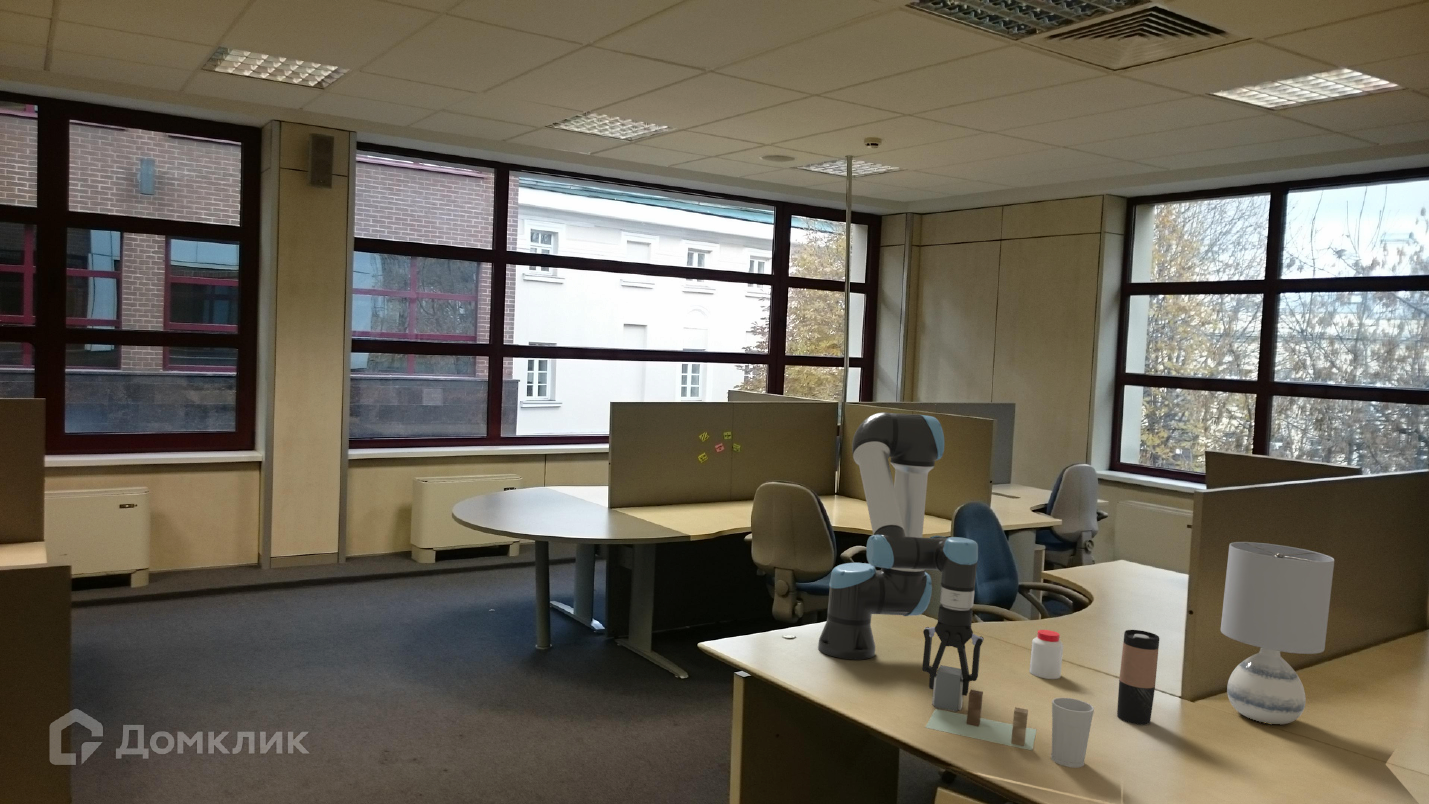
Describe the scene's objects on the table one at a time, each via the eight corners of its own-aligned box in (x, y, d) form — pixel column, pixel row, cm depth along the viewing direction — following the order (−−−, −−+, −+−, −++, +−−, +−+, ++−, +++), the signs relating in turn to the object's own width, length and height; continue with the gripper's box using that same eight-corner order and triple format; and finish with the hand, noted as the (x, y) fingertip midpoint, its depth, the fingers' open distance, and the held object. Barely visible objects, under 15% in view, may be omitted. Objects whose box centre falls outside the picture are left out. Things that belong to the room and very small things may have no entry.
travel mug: (1149, 716, 229) (1158, 632, 228) (1152, 728, 222) (1161, 641, 221) (1114, 710, 232) (1122, 627, 230) (1116, 721, 224) (1125, 635, 223)
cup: (1040, 753, 202) (1045, 696, 201) (1077, 755, 203) (1082, 698, 202) (1056, 770, 194) (1062, 711, 193) (1095, 771, 195) (1101, 712, 194)
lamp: (1325, 721, 235) (1343, 555, 233) (1303, 743, 219) (1322, 565, 217) (1227, 695, 250) (1243, 538, 247) (1200, 714, 234) (1217, 547, 232)
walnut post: (966, 724, 214) (969, 692, 214) (968, 720, 217) (970, 689, 216) (978, 726, 213) (981, 695, 213) (980, 722, 216) (982, 691, 215)
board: (925, 729, 210) (925, 727, 210) (935, 710, 223) (935, 708, 222) (1031, 752, 202) (1032, 750, 202) (1036, 731, 214) (1036, 729, 214)
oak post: (1011, 743, 205) (1014, 711, 205) (1012, 739, 207) (1015, 707, 207) (1023, 746, 204) (1027, 713, 204) (1025, 742, 206) (1028, 709, 206)
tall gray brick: (933, 708, 224) (937, 671, 223) (937, 701, 228) (940, 665, 228) (956, 712, 222) (960, 675, 221) (960, 705, 226) (963, 669, 226)
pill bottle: (1056, 670, 259) (1060, 630, 259) (1063, 680, 252) (1067, 638, 251) (1026, 667, 260) (1030, 627, 259) (1033, 677, 252) (1036, 635, 252)
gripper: (913, 603, 224) (904, 702, 225) (994, 616, 217) (985, 719, 218) (919, 596, 231) (911, 692, 232) (998, 609, 224) (989, 708, 225)
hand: (946, 705), depth 225 cm, fingers closed on tall gray brick, 5 cm apart
